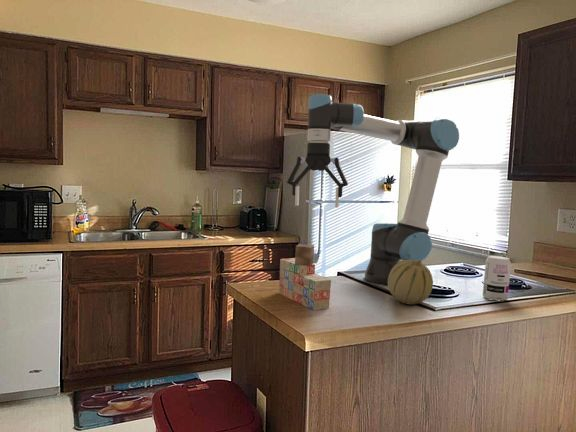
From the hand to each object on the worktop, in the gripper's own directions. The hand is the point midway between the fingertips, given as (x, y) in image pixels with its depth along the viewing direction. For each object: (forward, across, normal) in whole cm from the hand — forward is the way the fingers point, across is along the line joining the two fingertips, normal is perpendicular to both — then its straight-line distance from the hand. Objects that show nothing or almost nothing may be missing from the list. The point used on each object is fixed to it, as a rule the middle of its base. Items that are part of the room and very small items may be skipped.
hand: (316, 206), depth 161 cm
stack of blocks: (+31, -2, -8) cm, 32 cm away
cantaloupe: (+31, +32, +3) cm, 45 cm away
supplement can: (+33, +62, +22) cm, 73 cm away
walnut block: (+18, -2, -8) cm, 20 cm away
